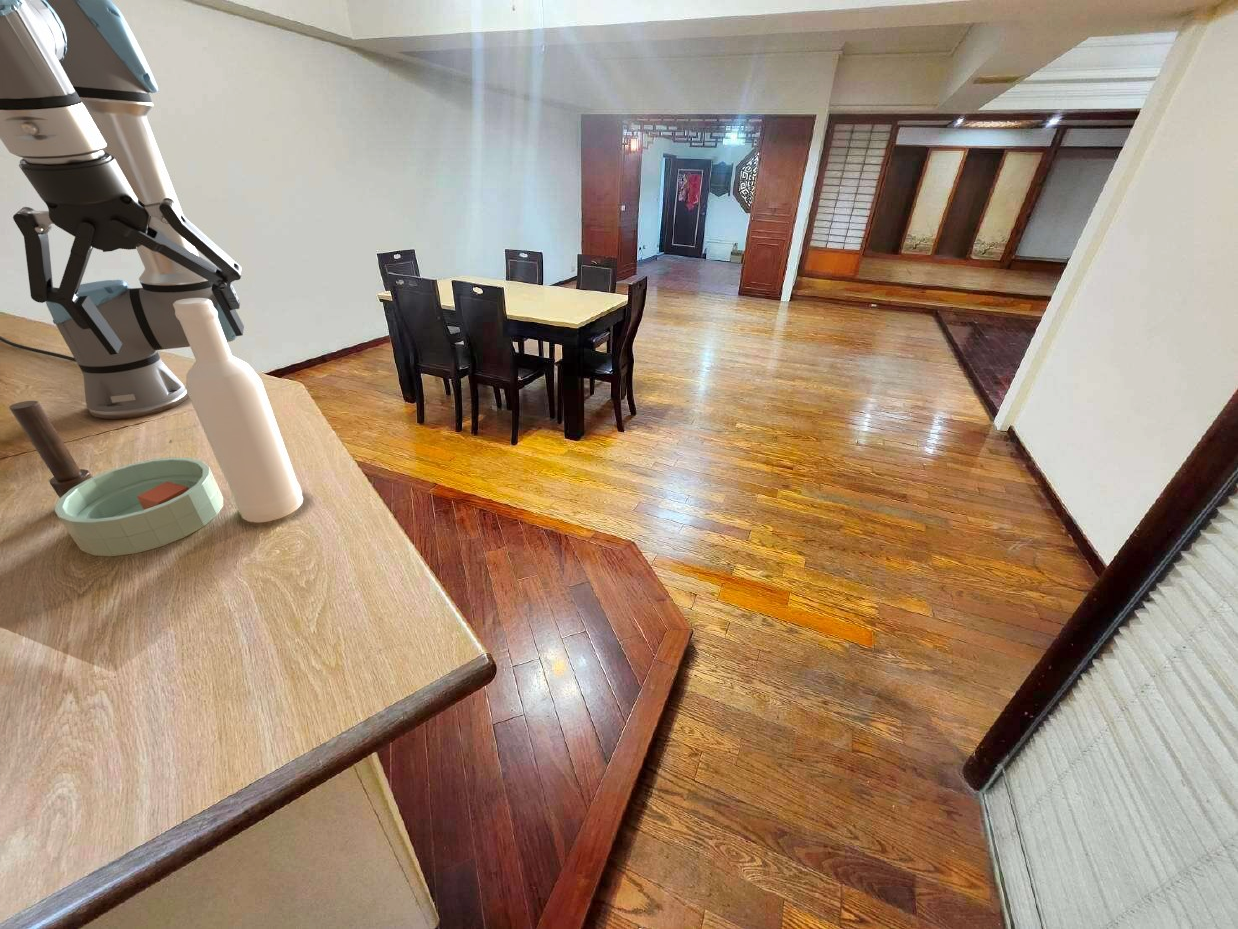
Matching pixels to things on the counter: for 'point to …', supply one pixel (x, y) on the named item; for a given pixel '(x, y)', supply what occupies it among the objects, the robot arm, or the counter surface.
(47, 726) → the counter surface
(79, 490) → the bowl
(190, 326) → the bottle
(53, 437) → the pestle
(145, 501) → the block
